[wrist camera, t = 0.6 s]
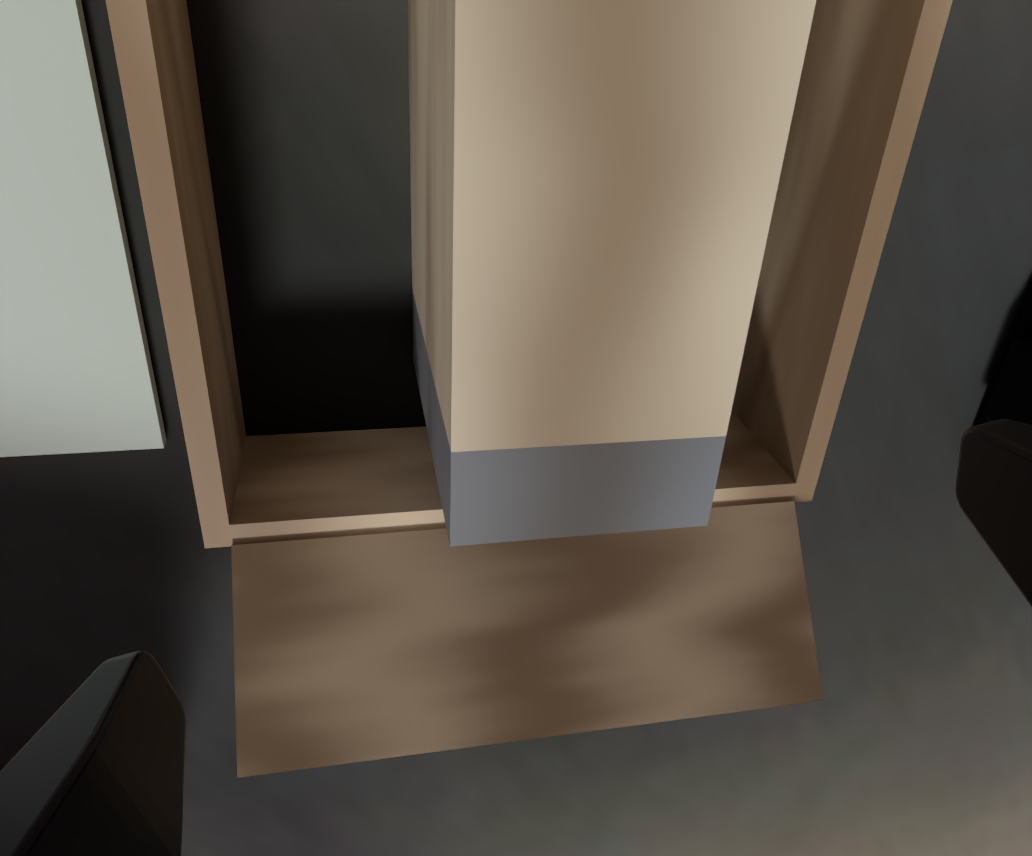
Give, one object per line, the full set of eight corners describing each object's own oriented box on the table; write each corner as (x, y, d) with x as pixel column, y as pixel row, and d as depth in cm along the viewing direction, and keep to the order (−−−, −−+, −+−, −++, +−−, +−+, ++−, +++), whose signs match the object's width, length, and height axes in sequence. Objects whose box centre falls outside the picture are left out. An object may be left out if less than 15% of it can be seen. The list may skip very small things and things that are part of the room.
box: (638, -68, 17) (834, -91, 10) (593, 354, 22) (707, 525, 15) (406, -84, 16) (456, -120, 9) (413, 361, 21) (449, 546, 14)
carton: (938, -455, 15) (1367, -756, 9) (722, 529, 26) (842, 703, 20) (60, -617, 12) (-233, -1240, 6) (243, 569, 23) (209, 787, 17)
